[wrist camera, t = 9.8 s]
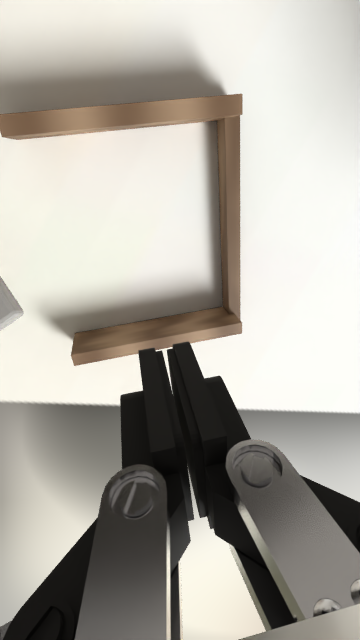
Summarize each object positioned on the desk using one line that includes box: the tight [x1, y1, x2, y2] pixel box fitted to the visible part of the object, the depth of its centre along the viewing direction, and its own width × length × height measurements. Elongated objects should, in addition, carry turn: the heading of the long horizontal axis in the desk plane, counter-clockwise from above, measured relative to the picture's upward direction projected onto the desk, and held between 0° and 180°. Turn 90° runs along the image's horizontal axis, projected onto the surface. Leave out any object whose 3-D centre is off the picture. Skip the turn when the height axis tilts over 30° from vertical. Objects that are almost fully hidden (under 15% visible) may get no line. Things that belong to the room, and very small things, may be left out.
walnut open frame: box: [0, 94, 242, 366], centre depth 27 cm, size 17×19×4 cm
